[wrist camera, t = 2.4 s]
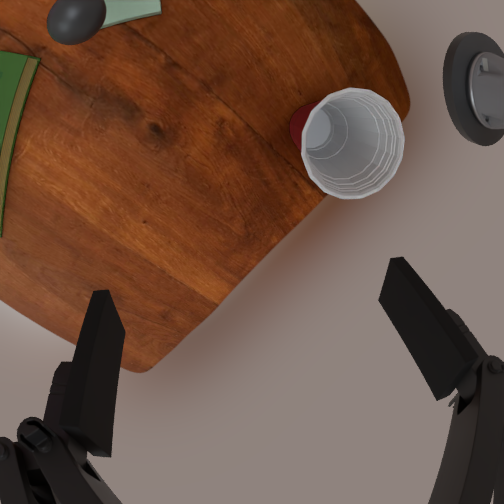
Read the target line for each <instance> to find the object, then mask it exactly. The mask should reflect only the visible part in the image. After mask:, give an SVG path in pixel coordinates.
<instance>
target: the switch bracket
mask: <svg viewBox="0 0 504 504" xmlns="http://www.w3.org/2000/svg"><path fill="white" fill-rule="evenodd" d="M104 1H105V4H106V9H107V13H106V18H105V21H104V23H103V25H102V27H101V28H100V29H102V28H105V27H108V26H112V25H116V24H119V23H123V22H127V21H131V20H135V19H139V18H143V17H148V16H153V15H158V14H161V13H162V12H161V2H160V0H104Z"/></svg>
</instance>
